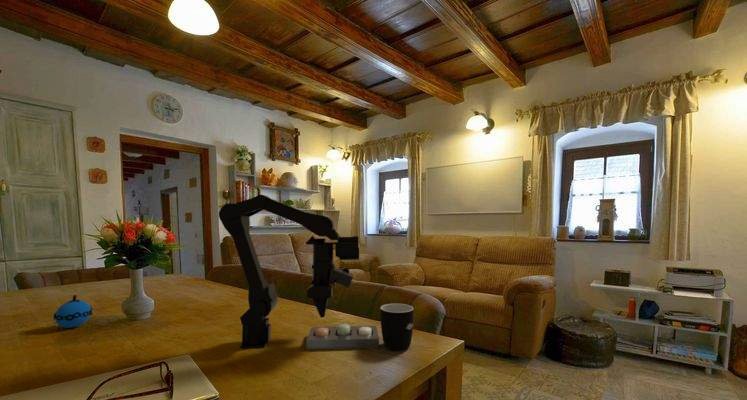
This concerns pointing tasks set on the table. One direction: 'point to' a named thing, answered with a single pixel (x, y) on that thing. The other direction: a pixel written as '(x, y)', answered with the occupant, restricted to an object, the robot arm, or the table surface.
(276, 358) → the table surface
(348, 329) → the egg sage
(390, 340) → the mug
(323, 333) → the salmon pink rounded lump
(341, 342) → the grey holder
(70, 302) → the ornament
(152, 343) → the table surface
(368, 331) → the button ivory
